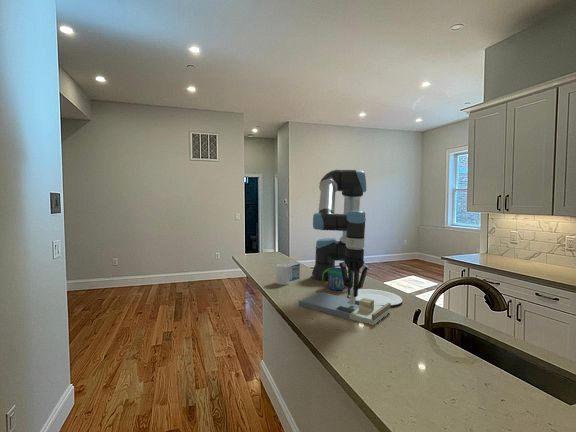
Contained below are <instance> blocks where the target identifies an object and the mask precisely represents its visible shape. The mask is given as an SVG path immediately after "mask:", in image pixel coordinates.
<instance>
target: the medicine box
mask: <svg viewBox="0 0 576 432" xmlns="http://www.w3.org/2000/svg"><path fill="white" fill-rule="evenodd" d="M289 265H291V267H290V278H289V281H291V280H292V281H295V280H297V278H298V279H300V277H301V276H300V273H301V272H300V271H301V270H300V269H301V264H300V263H296V262H292V263H289ZM294 279H295V280H294Z"/></svg>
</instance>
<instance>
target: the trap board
mask: <svg viewBox="0 0 576 432" xmlns="http://www.w3.org/2000/svg"><path fill="white" fill-rule="evenodd" d="M349 302H350V298H349V297H344V296H341V295H335V294H331V293H327V292H322V291H319V292H316V293H314V294H312V295H309V296H307V297H304V298H303V299H299V300H298V306H300V307H304V308H306V309H312V310H315V311H318V312H319V311H320V312H323V313H327V314H330V315H334V316H338V317H342V318H345V319H349V320H351V321H352V320H353V321H355V322H360V323H363V322H364V323H363V324H367V323H369V324H368V325H371V324H373V325H372V326H375V325H377V324H378V323H379V322H380V321H382V320H383V319H384V318H385V317H387V316H388V315H389V314H390V313H391V308H392V306H391V303H387V304H386V305H384V306H380V305H376V304H374V310H373V311H371V312H370V313H368V312H364V311H360V310H359V301H358V300H356V301H355V304H354V305H351V304H349ZM388 313H389V314H388ZM387 314H388V315H387ZM386 315H387V316H386ZM384 316H385V317H384ZM383 317H384V318H383ZM382 318H383V319H382ZM381 319H382V320H381ZM379 320H380V321H379ZM378 321H379V322H378ZM377 322H378V323H377ZM376 323H377V324H376ZM374 324H375V325H374Z"/></svg>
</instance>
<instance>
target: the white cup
mask: <svg viewBox="0 0 576 432" xmlns="http://www.w3.org/2000/svg"><path fill="white" fill-rule="evenodd" d="M289 264H290V263H289ZM289 264H287V263H279V264H276V265H275V270H276V271H275V273H276V275H275V276H276V284H277V285H278V286H279V285H281V286H286V285H289V284H290V280H289V278H290V267H291V265H289Z"/></svg>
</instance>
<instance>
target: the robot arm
mask: <svg viewBox="0 0 576 432" xmlns="http://www.w3.org/2000/svg"><path fill="white" fill-rule="evenodd" d="M366 177H367V176H366V173H365V171H364V170H361V169H359V170H358V169H334V170H331V171H329V172H328V173H325V175H323V177H322V178H321V179H320V182H319V186H318V188H319V191H320V194H319V204H318V211H317V212H315V213H313V215H312V227H313V230H317V231H338V232H339V231H340V232H342V235H341V236H340V238H339V240H337V239H336V238H334V237H327V238H320V239H318V240H316V243H315V259H314V260H315V261H314V266H313V269H312V271H311V277H312V278H313V279H315V280H320V281H322V274H323V272H324V271H325V270H327V269H328V268H336V262H337V261H338V262H339V263H338V265H339V268H341V271H342V277H343V282H344V287H346V288H348V289H347V296H348V297H349V296H350V298H349V299H350V302H349V304H351V305H354V304H355V301H356V297H357V296H358V290H359V289H362V288H363V287H364V284H365V280H366V276H367V274H368V271H369V270H370V266H369V265H367V264H365V259H364V256H365V249H364V248H365V235H366V234H365V231H366V221H367V218H366V212H365V211H364V210H360V208H361V207H360V206H361V205H360V204H361V198H362V197H363V196H364V193H366V192H367V178H366ZM336 192H341V195H342V197H343V198H344V199H343V213H335V211H336V209H335V207H336ZM361 270H362V271H361ZM347 271H348V273H347ZM360 272H361V274H360ZM323 281H329V280H328V272H325V273H324V278H323Z"/></svg>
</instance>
